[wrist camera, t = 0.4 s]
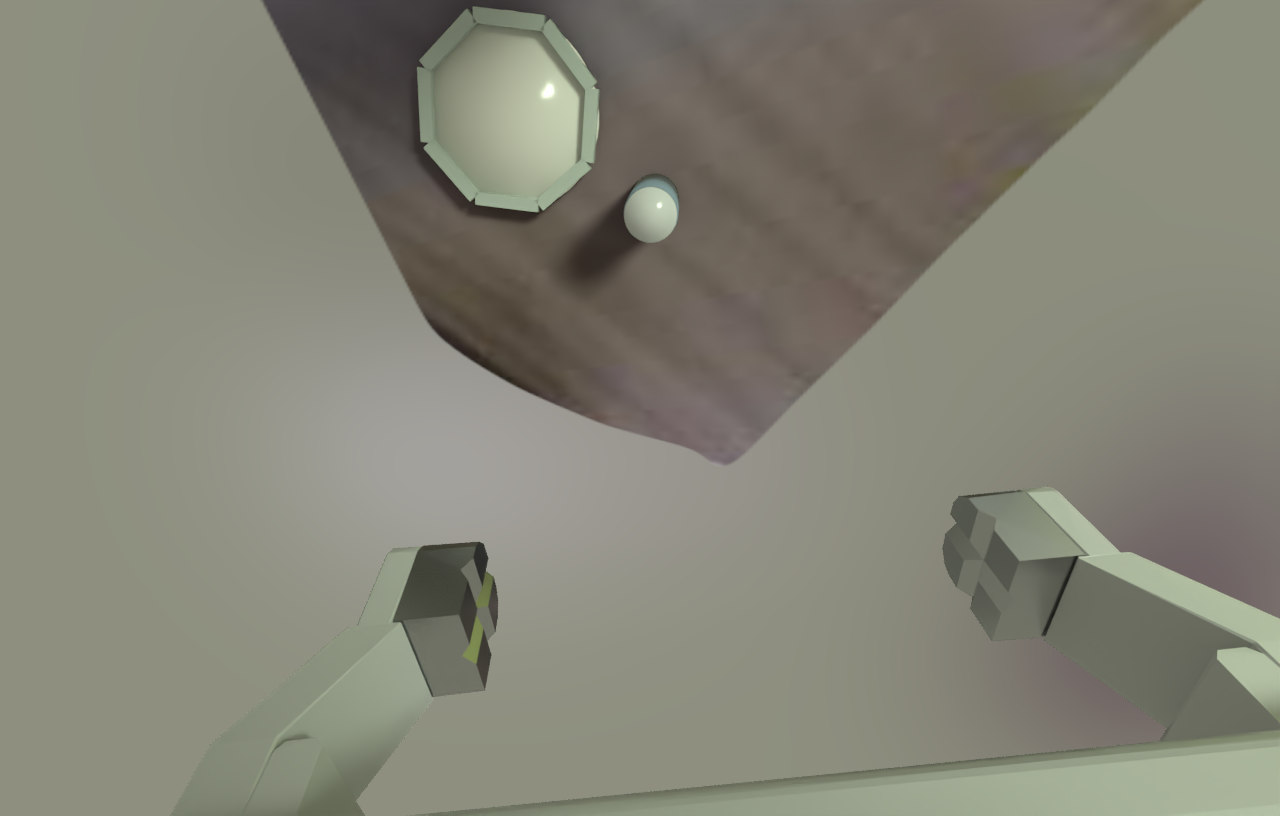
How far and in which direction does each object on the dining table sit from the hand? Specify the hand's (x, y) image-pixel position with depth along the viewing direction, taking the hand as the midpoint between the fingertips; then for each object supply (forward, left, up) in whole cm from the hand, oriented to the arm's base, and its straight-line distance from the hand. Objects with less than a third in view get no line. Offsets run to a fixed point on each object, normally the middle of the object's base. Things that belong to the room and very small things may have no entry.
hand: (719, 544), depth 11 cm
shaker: (+1, -3, -45) cm, 45 cm away
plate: (-4, -15, -45) cm, 47 cm away
